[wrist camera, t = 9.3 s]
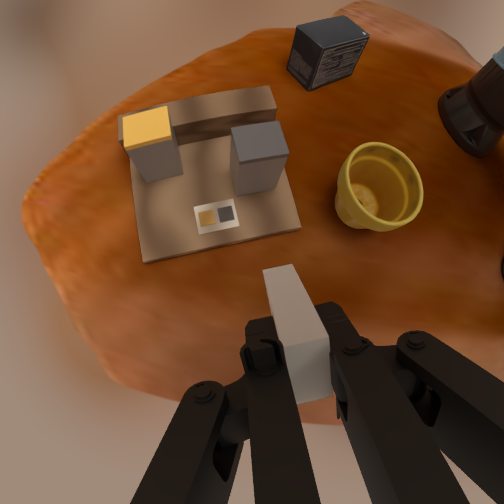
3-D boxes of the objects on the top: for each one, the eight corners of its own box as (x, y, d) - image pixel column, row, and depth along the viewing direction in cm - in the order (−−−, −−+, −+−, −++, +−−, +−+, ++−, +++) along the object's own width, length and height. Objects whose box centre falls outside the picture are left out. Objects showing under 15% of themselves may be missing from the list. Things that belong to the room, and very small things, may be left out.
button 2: (179, 148, 38) (166, 105, 29) (183, 173, 38) (171, 135, 28) (143, 156, 38) (122, 117, 28) (146, 182, 37) (123, 147, 28)
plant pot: (336, 252, 39) (368, 237, 30) (309, 181, 41) (331, 148, 31) (397, 231, 40) (436, 213, 31) (370, 167, 42) (401, 136, 32)
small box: (328, 52, 46) (344, 12, 35) (352, 75, 45) (373, 36, 35) (283, 68, 44) (295, 23, 34) (308, 92, 43) (325, 48, 33)
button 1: (267, 161, 39) (278, 120, 29) (275, 188, 38) (289, 153, 29) (229, 168, 38) (230, 127, 29) (236, 196, 38) (239, 161, 28)
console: (262, 109, 42) (268, 82, 36) (298, 229, 39) (311, 215, 33) (130, 137, 40) (117, 112, 34) (146, 263, 37) (130, 255, 31)
